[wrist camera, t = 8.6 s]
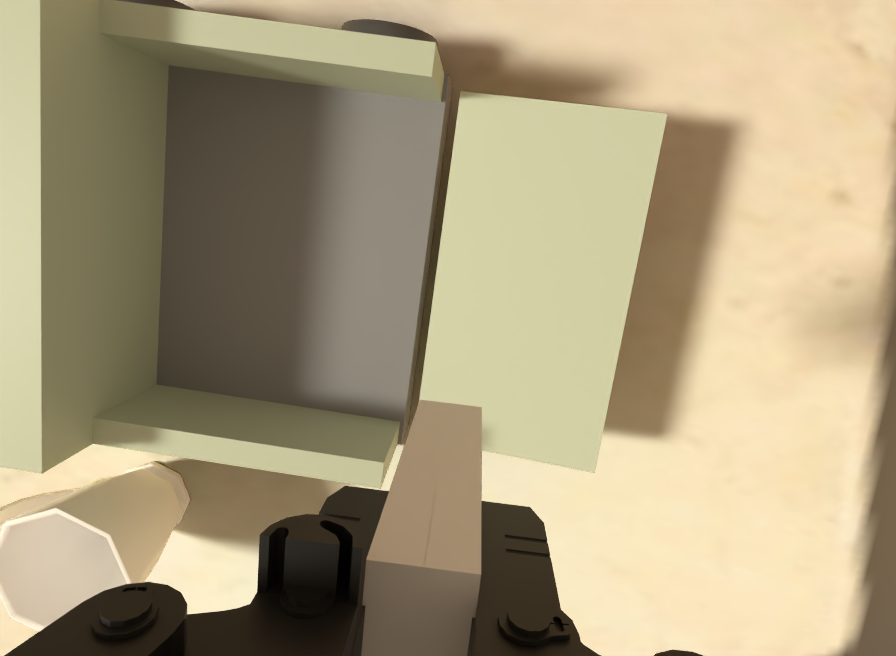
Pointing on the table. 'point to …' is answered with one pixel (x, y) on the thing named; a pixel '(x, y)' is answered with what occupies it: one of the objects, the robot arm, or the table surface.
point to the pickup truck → (213, 234)
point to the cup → (85, 541)
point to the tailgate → (538, 269)
